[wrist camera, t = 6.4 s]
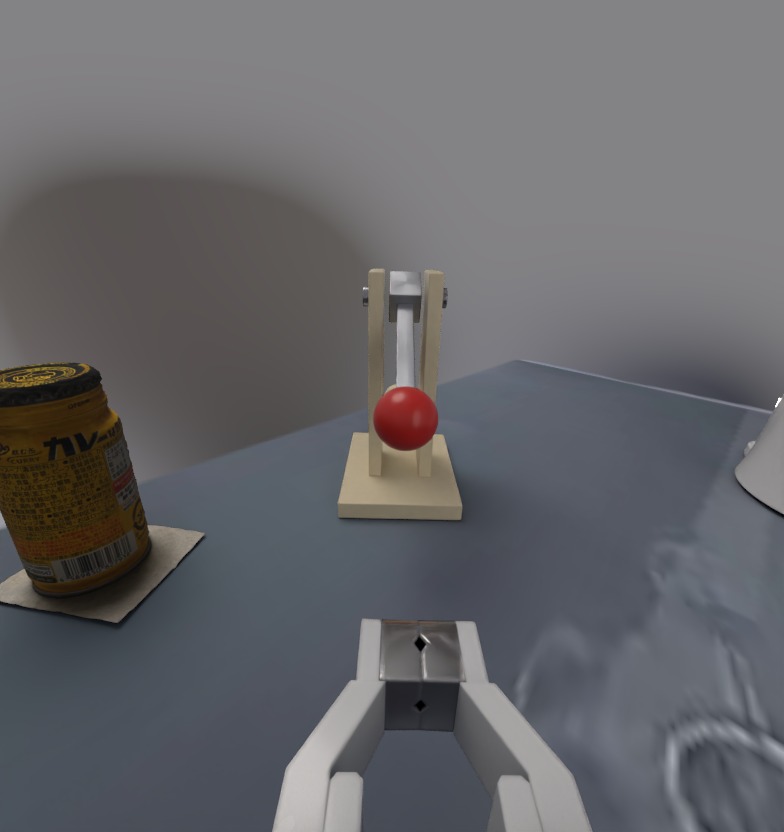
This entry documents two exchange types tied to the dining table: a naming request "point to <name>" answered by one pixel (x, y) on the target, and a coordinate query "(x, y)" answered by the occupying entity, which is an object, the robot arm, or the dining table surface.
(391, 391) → the switch lever
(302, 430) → the dining table surface
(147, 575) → the condiment
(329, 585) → the dining table surface
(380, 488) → the switch bracket
